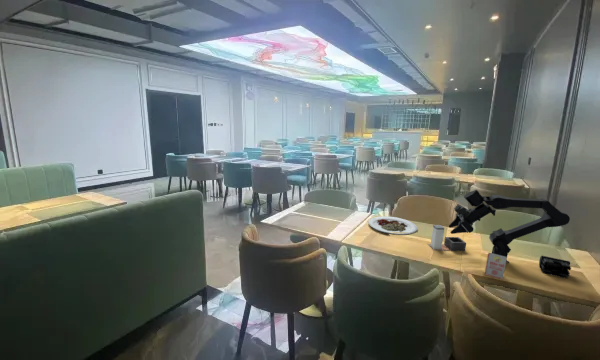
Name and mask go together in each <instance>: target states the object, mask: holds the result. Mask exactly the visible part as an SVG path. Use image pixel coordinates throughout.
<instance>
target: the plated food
mask: <svg viewBox="0 0 600 360" xmlns="http://www.w3.org/2000/svg"><path fill="white" fill-rule="evenodd" d="M368 225H369V226H370V227H371V228H373V229H374V230H376V231H379V232H382V233H386V234H392V235H410V234H411V235H412V234H414V233H416V232H417V231H418V226H417V225H416V224H415V223H414V222H412V221H410V220H407V219H405V218H401V217H396V216H382V215H381V216H375V217H371V218H370V219H368Z"/></svg>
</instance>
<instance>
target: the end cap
mask: <svg viewBox="0 0 600 360" xmlns="http://www.w3.org/2000/svg"><path fill="white" fill-rule="evenodd" d="M538 260H539V261H538V263H539V264H538V265H539V266H538V267H539V269H540V271H541V273H542V274H545V275H549V276H554V277H557V278H562V279H566V280H567V279H569V276H570V274H571V273H570V272H569V271H571V270H572V267H571V261H569V260H566V259H565V260H564V259H560V258H555V257H551V256H545V255H541V256H540V257H539V259H538Z"/></svg>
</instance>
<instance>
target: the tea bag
mask: <svg viewBox="0 0 600 360" xmlns="http://www.w3.org/2000/svg"><path fill="white" fill-rule="evenodd" d="M507 258H508V256H507V257H505V256H501V255H497V254H493V253H492V252H488V253H487V258H486V264H485V270H484V275H485V276H486V275H487V276H489V275H490V277H493V278H496V279H500V280H503V279H504V273H505V269H506V265H507V263H506V259H507Z"/></svg>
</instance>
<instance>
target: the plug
mask: <svg viewBox="0 0 600 360" xmlns="http://www.w3.org/2000/svg"><path fill="white" fill-rule="evenodd" d="M431 232H432V233H431V240H430V244H431V247H432V248H433V249H441V248H442V244H443V243H444V242H443V241H444V233H445V227H444V226H443V225H441V224H433V225H432V231H431ZM431 247H430V248H431ZM432 248H431V249H432ZM433 249H432V250H433Z"/></svg>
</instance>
